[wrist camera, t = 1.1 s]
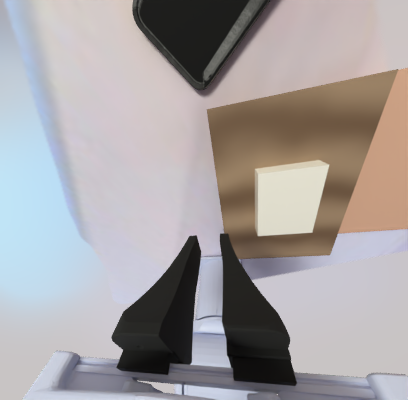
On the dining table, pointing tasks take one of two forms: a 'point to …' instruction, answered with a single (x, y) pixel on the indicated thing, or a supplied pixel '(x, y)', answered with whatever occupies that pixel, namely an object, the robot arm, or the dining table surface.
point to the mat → (384, 170)
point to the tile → (288, 197)
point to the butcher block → (295, 156)
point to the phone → (197, 32)
